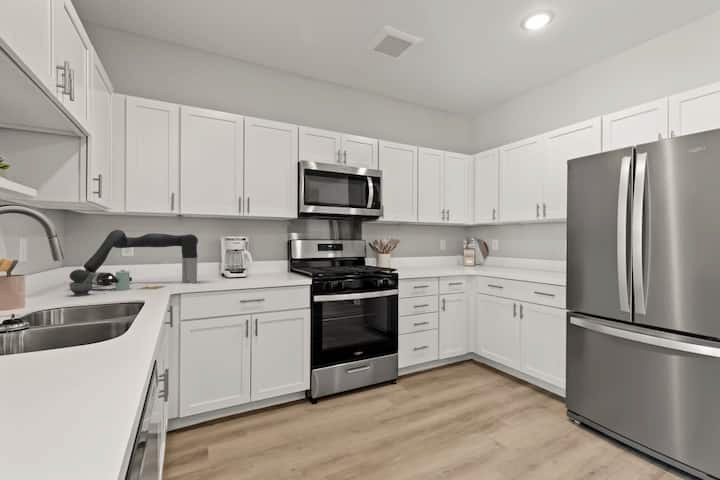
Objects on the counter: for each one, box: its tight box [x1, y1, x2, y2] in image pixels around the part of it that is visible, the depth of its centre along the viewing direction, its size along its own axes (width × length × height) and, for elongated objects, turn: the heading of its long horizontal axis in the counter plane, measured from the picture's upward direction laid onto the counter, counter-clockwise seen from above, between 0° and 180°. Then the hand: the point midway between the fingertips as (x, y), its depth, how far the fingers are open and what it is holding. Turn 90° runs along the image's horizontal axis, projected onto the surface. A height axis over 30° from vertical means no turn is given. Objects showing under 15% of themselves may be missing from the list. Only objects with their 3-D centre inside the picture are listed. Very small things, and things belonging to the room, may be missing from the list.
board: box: [138, 285, 167, 290], centre depth 206 cm, size 13×11×1 cm
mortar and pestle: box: [69, 272, 96, 297], centre depth 183 cm, size 11×9×12 cm
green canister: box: [115, 269, 131, 291], centre depth 197 cm, size 6×6×12 cm
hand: (124, 280), depth 197 cm, fingers open, 8 cm apart
